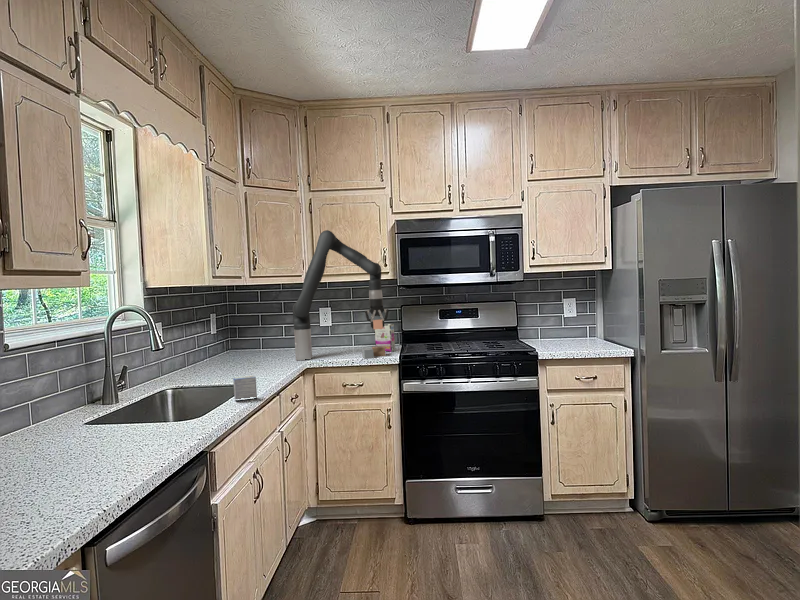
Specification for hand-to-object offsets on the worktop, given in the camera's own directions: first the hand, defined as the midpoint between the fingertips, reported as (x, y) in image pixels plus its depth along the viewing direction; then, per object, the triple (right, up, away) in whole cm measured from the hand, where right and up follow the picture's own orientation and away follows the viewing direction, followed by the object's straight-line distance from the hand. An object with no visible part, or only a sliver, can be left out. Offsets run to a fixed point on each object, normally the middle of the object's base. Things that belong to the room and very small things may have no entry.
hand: (377, 327), depth 310 cm
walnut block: (+1, -16, +1) cm, 16 cm away
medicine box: (-46, -22, -102) cm, 114 cm away
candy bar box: (+4, -15, +18) cm, 24 cm away
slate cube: (-5, -16, -7) cm, 19 cm away
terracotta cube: (0, 0, 0) cm, 0 cm away
